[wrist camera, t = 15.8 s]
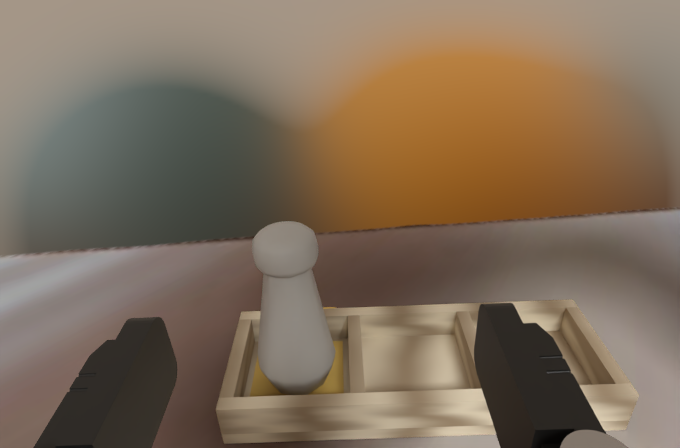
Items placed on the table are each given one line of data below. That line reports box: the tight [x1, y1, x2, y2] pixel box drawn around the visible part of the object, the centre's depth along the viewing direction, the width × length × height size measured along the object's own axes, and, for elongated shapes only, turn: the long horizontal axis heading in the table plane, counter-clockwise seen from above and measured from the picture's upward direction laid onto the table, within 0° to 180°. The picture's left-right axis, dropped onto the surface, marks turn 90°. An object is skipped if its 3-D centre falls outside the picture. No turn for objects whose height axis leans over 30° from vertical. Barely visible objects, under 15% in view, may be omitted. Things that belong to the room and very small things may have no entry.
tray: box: [216, 299, 639, 444], centre depth 37 cm, size 28×10×4 cm, turn 91°
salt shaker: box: [252, 221, 335, 395], centre depth 34 cm, size 6×6×13 cm
